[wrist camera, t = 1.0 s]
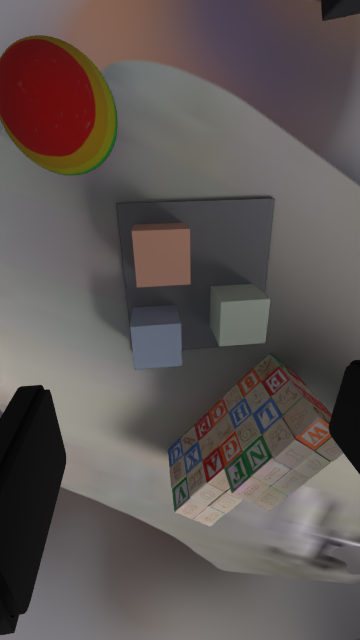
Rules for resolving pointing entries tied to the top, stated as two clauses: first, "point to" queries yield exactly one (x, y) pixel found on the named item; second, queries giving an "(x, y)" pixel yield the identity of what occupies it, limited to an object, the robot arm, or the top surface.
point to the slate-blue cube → (156, 337)
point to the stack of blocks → (252, 446)
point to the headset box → (339, 8)
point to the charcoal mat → (201, 256)
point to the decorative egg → (56, 105)
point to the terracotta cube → (161, 254)
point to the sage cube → (238, 314)
